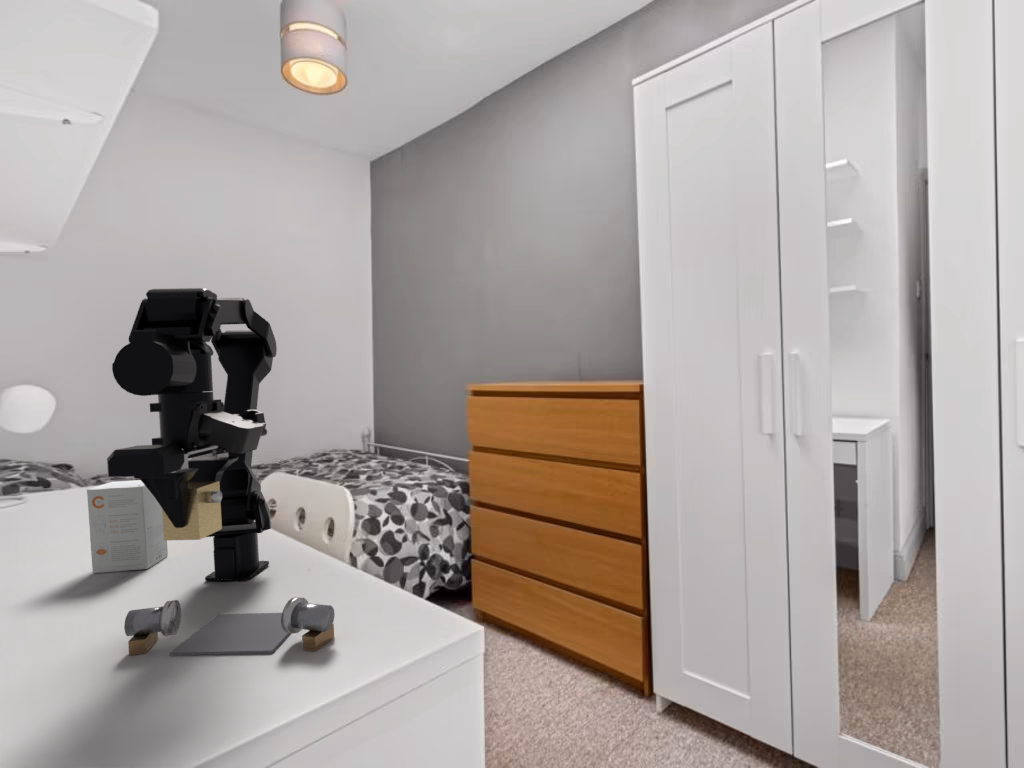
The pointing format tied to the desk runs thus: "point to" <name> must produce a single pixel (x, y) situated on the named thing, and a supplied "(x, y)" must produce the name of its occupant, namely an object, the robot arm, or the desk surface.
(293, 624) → the shaft
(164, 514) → the coupler
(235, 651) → the mat
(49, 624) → the desk surface
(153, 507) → the small box
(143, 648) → the shaft
